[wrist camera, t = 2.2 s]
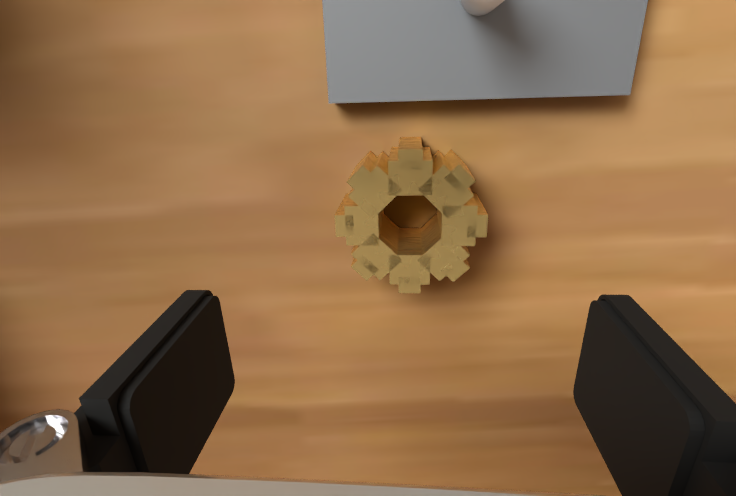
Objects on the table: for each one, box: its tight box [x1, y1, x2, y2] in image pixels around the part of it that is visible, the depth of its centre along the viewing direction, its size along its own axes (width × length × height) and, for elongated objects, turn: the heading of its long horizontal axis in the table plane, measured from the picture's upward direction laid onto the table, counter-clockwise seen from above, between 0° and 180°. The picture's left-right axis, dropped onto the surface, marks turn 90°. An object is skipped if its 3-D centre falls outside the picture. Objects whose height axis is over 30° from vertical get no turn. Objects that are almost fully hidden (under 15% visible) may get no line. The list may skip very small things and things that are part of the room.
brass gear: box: [335, 137, 488, 293], centre depth 22 cm, size 7×7×4 cm
